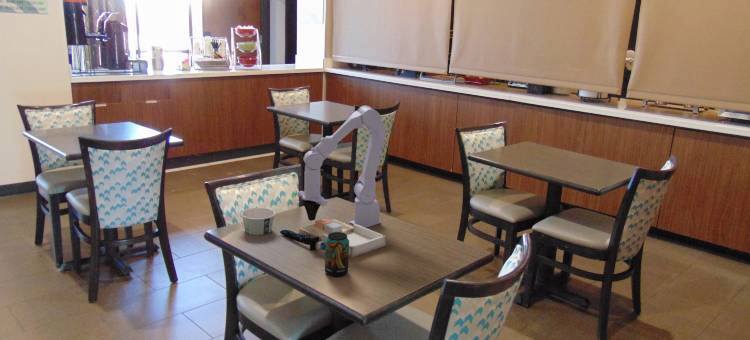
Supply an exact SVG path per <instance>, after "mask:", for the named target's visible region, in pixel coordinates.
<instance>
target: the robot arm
mask: <svg viewBox="0 0 750 340" xmlns="http://www.w3.org/2000/svg"><path fill="white" fill-rule="evenodd" d="M364 126H365V127H364ZM361 128H366V129H368V131H369V132H370V137H369V140H368V145H367V149H366V152H365V153H366V154H365V158H364V163H363V167H362V171H361V173H360V175H359V177H358V180H357V182H356V183H355V185H353V192H354V194H355V195H356V196H355V198H354V211H353V212H354V214H353V219H352V220H349V221H348V223H349V224H351V225H353V226H354V224H357V225H360V226H362V227H365V228H367V229H368V228H370V227H372V226H375V225H378V224H381V223H382V222H381V221H380V213H381V212H380V211H381V208H380V207H381V206H380V203H379V201H378V199H376V197H377V192H376V185H377V184H376V176H377V172H378V168H379V167H378V166H379V164H380V163H379V162H380V159H381V155H382V154H381V153H382V149H383V145H384V142H385V138H386V137H385V136H386V134H387V133H386V132H387V131H386V127H385V126H384V121H383V117H382V115H381V114H380V113H379V112H378V111H377V110H376V109H374V108H372V107H371V106H370V105H362V106H359V108H358V109H357V110H355V111H354V112H353V113H352V114H351V115H350V116H349V117H348V118H347V119H346V120H345V121H344V123H342V125H340V127H339V128H337V130H336V131H334V133H333V134H332V135H326V136H325V137H321V138H320V141H319V142H318V143H317V144H316V145H315V146H314V147H313V146H312V147H310V150H309V151H307V152H305V154H304V156H303V158H302V160H303V162H304V179H303V180H304V185H303V186H304V190H300V191H297V197H298V198H302V199H301V200H303V201H302V205H303V207H304V209H305V211H306V212H305V213H306V214H307V215H306V216H307V220H308V221H311V222H312V221H316V217H317V213H318V211H319V209H320V207H327V206H328V199H325V198H324V197H323V196H322V195H321V176H322V175H321V167H322V166H323V163H324V161H325V160H326V159H327V158H328V157H329V156H330V155H331V154H332V153H334V151H336V150H337V149H338V144H339V142H340V141H342V140H343V139H344V138H345V137H346V136H348V135H349V134H350V133H351V132H352V131H354V129H361Z"/></svg>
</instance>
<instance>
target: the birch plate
mask: <svg viewBox="0 0 750 340" xmlns="http://www.w3.org/2000/svg"><path fill="white" fill-rule="evenodd" d="M329 220H330V221H333V222H335V223H338V224H340V225H342V231H340V232H341V233H345V234H347V233H351V232H353V230H354V226H352V225H350V224H347V223H345V222H343V221H340V220H338V219H335V218H332V219H329ZM298 234H301V235H310V238H311V239H312V238H314V237H317V236H318V237H319V242H321V237H322V234H326V235H328V234H330V232H327V231H325V230H323V229H320V228H318V227H316V226H315V223H314V224H310V225H307V226H303V227H301V228H299V230H298Z"/></svg>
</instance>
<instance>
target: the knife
mask: <svg viewBox="0 0 750 340" xmlns="http://www.w3.org/2000/svg"><path fill="white" fill-rule="evenodd" d="M279 233H280V235H282V236H284V237H286V238H287V239H290V240H291V241H295V242H297V243H300V244H304V245H307V246H309V251H315V250H321V251H325V247H326V242H319V237H318V236H317V237H314V238H312V239H311V238H310V235H301V234H299V232H295V231H293V230H289V229H282V230H280V231H279Z"/></svg>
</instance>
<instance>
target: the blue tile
mask: <svg viewBox="0 0 750 340" xmlns="http://www.w3.org/2000/svg"><path fill="white" fill-rule="evenodd" d="M324 230H325V231H327V232H330V233H333V232H340V231H342V225H340V224H338V223H335V222H332V223H329V224H326V225H324Z"/></svg>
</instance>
